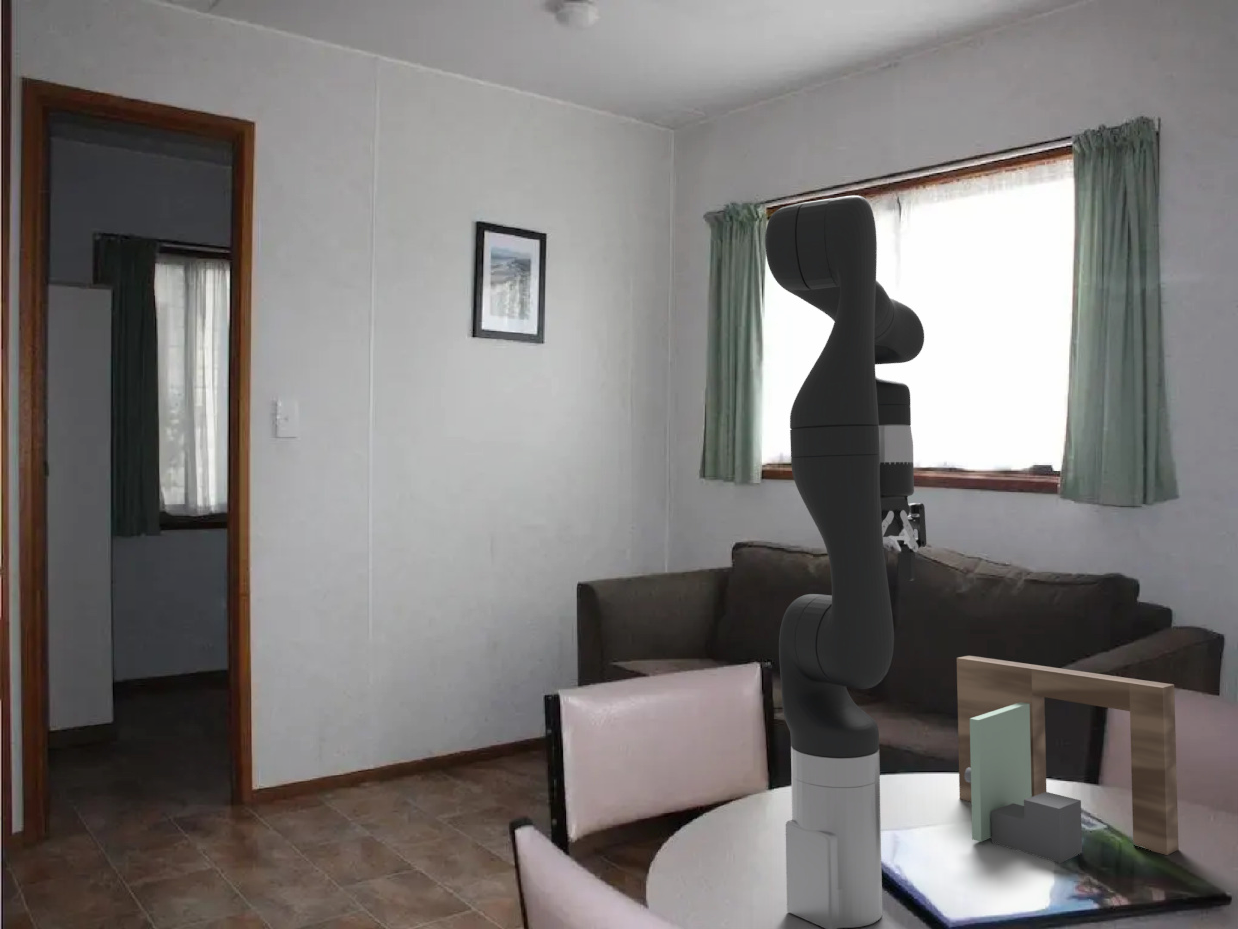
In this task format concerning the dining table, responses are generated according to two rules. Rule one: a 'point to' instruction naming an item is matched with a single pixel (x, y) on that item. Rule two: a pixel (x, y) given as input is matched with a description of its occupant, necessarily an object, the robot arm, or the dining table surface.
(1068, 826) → the grey stepped block
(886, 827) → the dining table surface
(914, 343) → the robot arm
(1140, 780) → the wall frame
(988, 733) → the door
